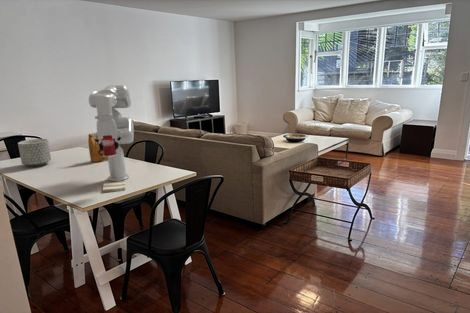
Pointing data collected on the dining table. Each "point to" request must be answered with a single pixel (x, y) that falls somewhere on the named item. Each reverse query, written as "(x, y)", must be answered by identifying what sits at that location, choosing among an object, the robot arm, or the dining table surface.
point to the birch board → (114, 186)
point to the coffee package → (95, 150)
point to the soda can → (108, 146)
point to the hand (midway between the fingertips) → (109, 149)
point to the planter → (34, 152)
